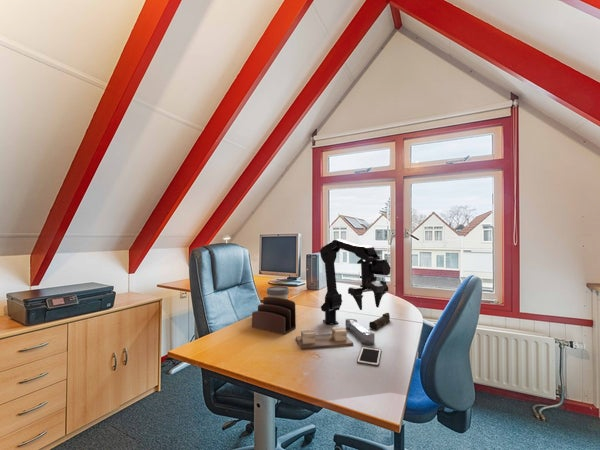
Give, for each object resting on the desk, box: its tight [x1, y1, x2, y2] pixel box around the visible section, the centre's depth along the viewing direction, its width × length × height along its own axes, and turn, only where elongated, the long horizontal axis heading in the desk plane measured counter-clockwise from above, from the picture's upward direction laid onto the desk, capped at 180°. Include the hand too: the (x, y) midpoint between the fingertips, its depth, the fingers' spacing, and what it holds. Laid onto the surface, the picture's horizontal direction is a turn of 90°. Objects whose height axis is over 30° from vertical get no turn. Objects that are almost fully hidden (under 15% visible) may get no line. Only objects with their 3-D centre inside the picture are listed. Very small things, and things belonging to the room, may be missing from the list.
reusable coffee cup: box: [266, 285, 290, 300], centre depth 162 cm, size 13×13×15 cm
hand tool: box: [368, 312, 391, 331], centre depth 145 cm, size 19×4×5 cm, turn 136°
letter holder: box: [251, 296, 297, 335], centre depth 140 cm, size 10×20×14 cm, turn 59°
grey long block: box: [345, 318, 376, 347], centre depth 130 cm, size 24×6×4 cm, turn 12°
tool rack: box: [295, 326, 354, 351], centre depth 122 cm, size 12×22×5 cm, turn 102°
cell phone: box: [356, 346, 382, 368], centre depth 109 cm, size 8×15×1 cm, turn 160°
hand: (369, 308), depth 129 cm, fingers open, 9 cm apart
